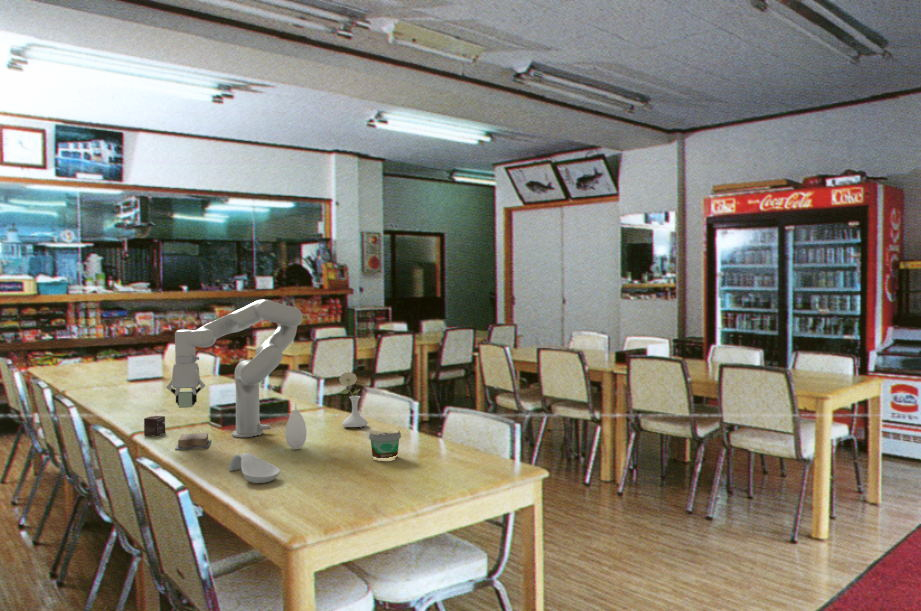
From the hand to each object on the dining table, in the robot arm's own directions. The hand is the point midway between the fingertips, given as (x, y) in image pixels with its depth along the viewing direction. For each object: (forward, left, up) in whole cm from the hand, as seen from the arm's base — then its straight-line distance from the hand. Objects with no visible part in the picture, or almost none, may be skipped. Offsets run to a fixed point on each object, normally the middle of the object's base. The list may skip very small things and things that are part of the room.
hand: (186, 404), depth 266 cm
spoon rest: (-27, +57, -16) cm, 65 cm away
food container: (-74, +48, -15) cm, 90 cm away
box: (+15, -16, -16) cm, 27 cm away
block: (0, 0, -1) cm, 1 cm away
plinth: (-3, +8, -15) cm, 18 cm away
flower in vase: (-68, -9, -15) cm, 71 cm away
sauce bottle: (-42, +24, -15) cm, 51 cm away
